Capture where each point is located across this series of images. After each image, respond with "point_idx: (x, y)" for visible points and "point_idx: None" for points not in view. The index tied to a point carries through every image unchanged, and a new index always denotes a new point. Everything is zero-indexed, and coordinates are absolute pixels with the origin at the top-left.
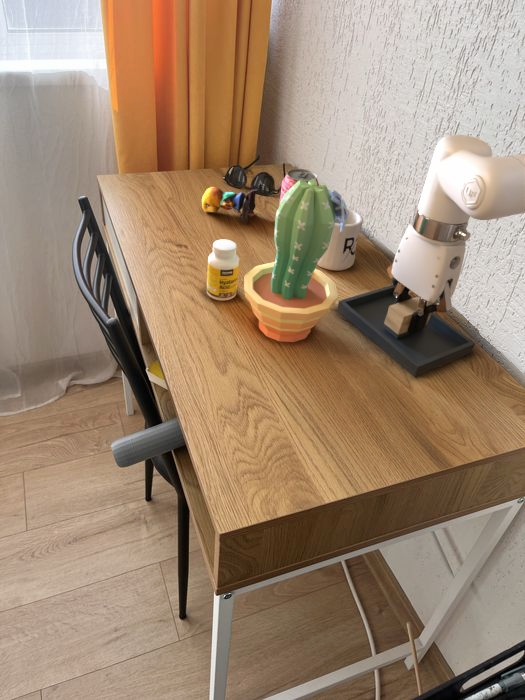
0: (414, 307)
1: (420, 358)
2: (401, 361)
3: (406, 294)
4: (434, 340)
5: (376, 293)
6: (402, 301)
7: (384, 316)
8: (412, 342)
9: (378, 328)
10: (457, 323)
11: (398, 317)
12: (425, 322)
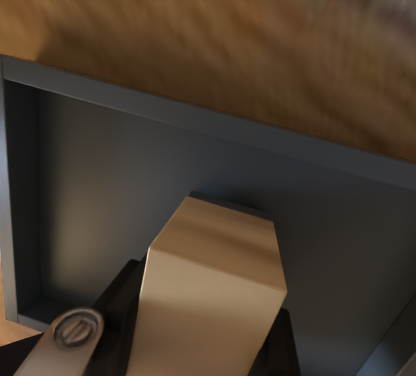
0: (203, 367)
1: (329, 353)
2: None
3: (103, 370)
4: (330, 245)
5: (14, 188)
6: (129, 355)
7: (126, 244)
8: None
9: None
10: (366, 3)
11: None
12: (291, 336)
